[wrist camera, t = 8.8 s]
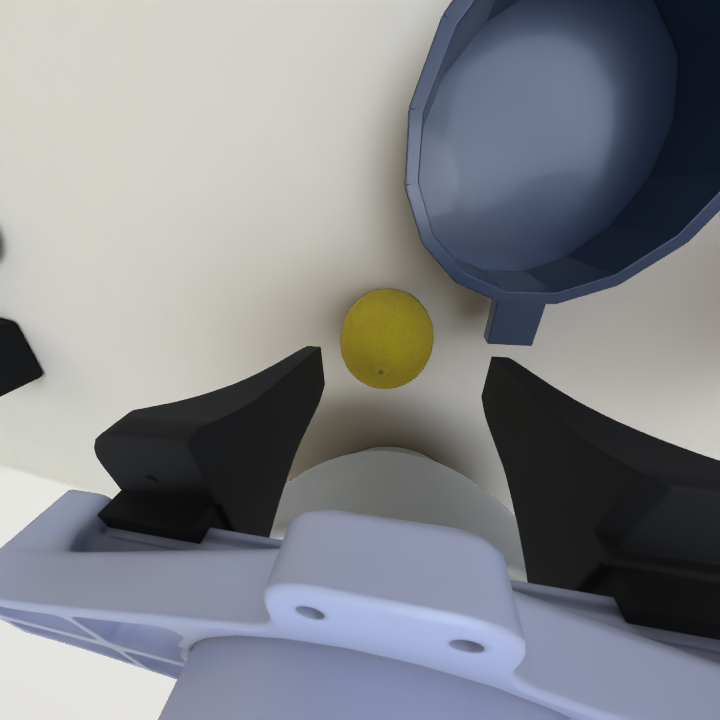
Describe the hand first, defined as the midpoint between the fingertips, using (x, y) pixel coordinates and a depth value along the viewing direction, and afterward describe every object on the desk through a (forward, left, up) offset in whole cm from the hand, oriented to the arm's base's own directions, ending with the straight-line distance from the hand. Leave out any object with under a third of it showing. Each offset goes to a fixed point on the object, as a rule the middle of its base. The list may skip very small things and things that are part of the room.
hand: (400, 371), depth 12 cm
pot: (-6, -8, -9) cm, 14 cm away
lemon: (+1, +1, -9) cm, 9 cm away
